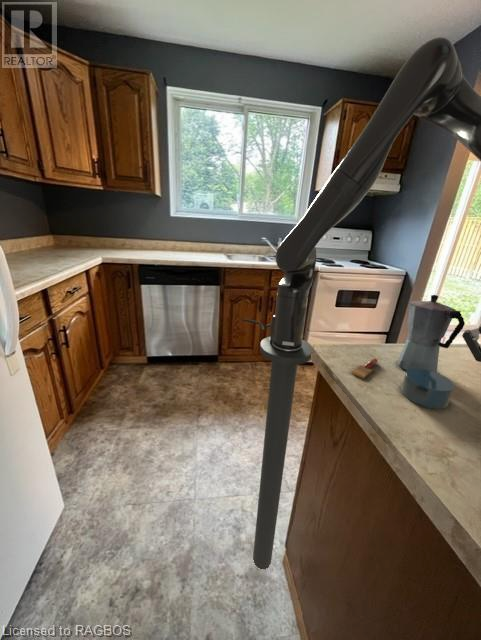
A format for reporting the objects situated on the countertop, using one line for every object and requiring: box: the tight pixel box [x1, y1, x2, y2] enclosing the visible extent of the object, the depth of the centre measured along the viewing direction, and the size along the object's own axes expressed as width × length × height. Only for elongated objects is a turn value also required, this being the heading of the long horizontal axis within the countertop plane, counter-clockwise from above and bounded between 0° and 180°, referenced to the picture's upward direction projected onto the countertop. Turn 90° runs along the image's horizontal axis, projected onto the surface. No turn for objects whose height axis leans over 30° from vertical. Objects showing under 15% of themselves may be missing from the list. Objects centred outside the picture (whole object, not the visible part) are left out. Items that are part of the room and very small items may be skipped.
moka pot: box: [397, 294, 466, 372], centre depth 69 cm, size 10×15×20 cm, turn 15°
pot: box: [400, 368, 455, 410], centre depth 60 cm, size 9×12×4 cm
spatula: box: [351, 357, 378, 379], centre depth 71 cm, size 11×3×1 cm, turn 133°
